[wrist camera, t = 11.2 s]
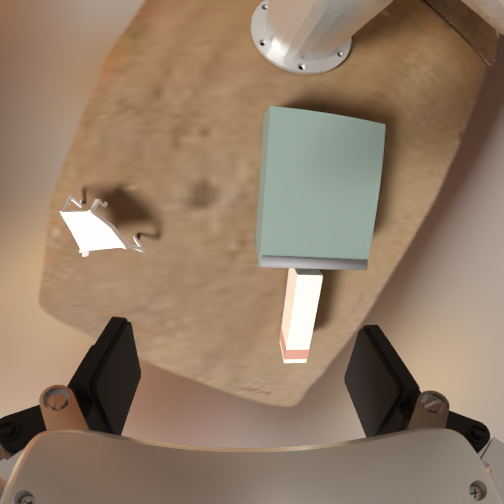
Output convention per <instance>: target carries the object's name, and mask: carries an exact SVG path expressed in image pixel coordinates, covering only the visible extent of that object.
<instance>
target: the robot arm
mask: <svg viewBox="0 0 504 504" xmlns="http://www.w3.org/2000/svg"><path fill="white" fill-rule="evenodd" d="M393 1H394V0H264V1H263V2H262V3H260V5H259V6H258V7H257V8H256V10H255V12H254V14H253V16H252V20H251V36H252V39H253V42H254V44H255V46H256V48H257V49H258V51H259V52H260V53H261V54H262V55H263V56H264V58H265V59H266V60H268V61H269V62H271V63H272V64H273V65H275V66H277V67H279V68H281V69H283V70H285V71H288V72H291V73H296V74H301V75H314V74H321V73H324V72H327V71H330V70H331V69H333V68H335V67H336V66H338V65H339V64H340V63H341V62H342V61H343V60H344V59H345V58H346V57H347V55H348V53H349V51H350V47H351V43H352V36H353V35H354V34H355V33H356V32H357V31H358V30H359V29H361V28H362V27H363V26H364V25H365V24H366V23H368V22H369V21H370V20H371V19H372V18H374V17H375V16H376V15H377V14H378V13H380V12H381V11H382V10H383V9H385V8H386V7H387V6H388V5H389V4H390V3H392V2H393ZM461 1H462V2H464V3H465V4H466V5H467V6H468V7H470V8H471V9H472V10H473V11H474V12H476V13H477V14H478V15H479V16H480V17H482V18H483V19H484V20H485V21H486V22H487V23H488V24H490V25H491V26H492V27H493V28H494V29H496V30H497V31H498V32H499V33H501V34H502V35H503V36H504V0H461ZM264 9H266V10H264ZM261 43H263V44H264V46H262V45H260V44H261ZM337 54H338V55H340V57H339V56H338V55H337ZM299 67H302V70H300V69H299ZM140 377H141V369H140V366H139V360H138V356H137V351H136V346H135V341H134V335H133V330H132V325H131V322H128V321H127V319H126V318H122V317H112V318H111V319H110V321H109V323H108V324H107V326H106V327H105V329H104V330H103V332H102V334H101V335H100V337H99V338H98V340H97V342H96V343H95V345H92V346H91V348H90V349H89V351H88V352H87V354H86V356H85V357H84V359H83V360H82V362H81V364H80V365H79V367H78V369H77V371H76V372H75V374H74V376H73V377H72V379H71V381H70V383H69V384H68V386H64V385H53V386H50V387H48V388H47V389H45V390H44V391H43V392H42V394H41V395H40V398H39V403H40V405H37V406H35V407H31V408H29V409H26V410H23V411H20V412H17V413H14V414H11V415H8V416H5V417H3V418H1V419H0V504H504V444H503V443H502V442H501V441H499V440H498V439H496V438H495V437H493V439H490V433H489V430H488V428H487V427H486V426H485V425H484V424H483V423H481V422H479V421H476V420H473V419H470V418H467V417H465V416H462V415H460V414H457V413H454V412H451V411H449V402H448V400H447V399H446V397H445V396H443V395H442V394H440V393H438V392H436V391H425V392H423V393H421V392H420V390H419V388H420V387H419V386H418V384H417V383H416V381H415V380H414V378H413V376H412V375H411V373H410V372H409V370H408V369H407V367H406V366H405V364H404V363H403V362H402V360H401V358H400V357H399V356H398V354H397V352H396V351H395V349H394V348H393V346H392V345H391V343H390V342H389V340H388V339H387V338H386V336H385V335H384V333H383V332H382V330H381V329H380V327H379V326H378V325H365V326H364V327H363V328H362V329H360V330H359V332H358V336H357V339H356V342H355V346H354V349H353V352H352V355H351V358H350V361H349V364H348V367H347V371H346V373H345V384H346V386H347V389H348V392H349V394H350V397H351V399H352V402H353V404H354V407H355V409H356V412H357V414H358V417H359V419H360V422H361V424H362V427H363V430H364V432H365V435H366V438H362V439H355V440H350V441H343V442H335V443H328V444H318V445H309V446H295V447H277V448H221V447H204V446H203V447H202V446H191V445H181V444H171V443H164V442H156V441H149V440H142V439H136V438H131V437H125V436H121V433H122V430H123V427H124V424H125V421H126V418H127V415H128V412H129V409H130V406H131V403H132V400H133V398H134V395H135V392H136V389H137V386H138V383H139V380H140Z"/></svg>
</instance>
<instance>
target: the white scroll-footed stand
mask: <svg viewBox="0 0 504 504" xmlns="http://www.w3.org/2000/svg"><path fill="white" fill-rule="evenodd" d="M71 200H72V201H73V202H74V203H75V204H76V205H78V206H79V207H82V200H80V203H79V202H78V201H77V200H76V199H75V198H74V197H73V196H72V195H69V197H68V199H67V200H66V202H65V204H64V207H63V209H62V210H60V213H61V215H62V217H63V218H64V220H65V222H66V224H67V225H68V227H69V228H70V230H71V232H72V234H73V236H74V238H75V239H76V241H77V243H78V245H79V247H80V252H79V253H81V252H83V253H82V257H84V256H89V254H90V253H91V252H92V251H93V250H99V249H110V248H123V249H126V250H127V249H129V248H134V249H136V250H138V251H140V252H144V253H145V248H144V247H143V245H142V244H141V243H140V241H139V240H138V238H137V237H136V236H133V237H134V240H135V242H136V243H137V245H138V246H136V245H134V244H131V243H128V241H127V240H126V239H125V238H124V237H123V236H122V234H121V233H120V232H119V231H118V230H117V228H116V227H115V226H114V225H113V224H111V223H110V222H109V221H107V220H106V219H105V218H103V217H102V216H101V215H99V214H98V213H96V212H95V210H96V208H97V207H98V205H99V204H100V205H102V206H103V207H107V205H108V203H107V202H104V203H103V202H102V201H101V200H100V199H95V201H94V203H93V205H92V207H91V209H90V210H69V205H70V202H71ZM68 210H69V211H68Z"/></svg>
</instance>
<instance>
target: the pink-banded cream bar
mask: <svg viewBox="0 0 504 504" xmlns="http://www.w3.org/2000/svg"><path fill="white" fill-rule="evenodd" d="M322 278H323V275H322V273H321V271H320V270H319V269H305V268H289V273H288V281H287V289H286V297H285V305H284V313H283V320H282V327H281V332H280V346H281V351H282V356H283V361H284V363H306V360H307V357H308V353H309V346H310V341H311V337H312V332H313V327H314V322H315V317H316V312H317V306H318V301H319V296H320V290H321V284H322Z"/></svg>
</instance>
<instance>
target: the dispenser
mask: <svg viewBox="0 0 504 504" xmlns="http://www.w3.org/2000/svg"><path fill="white" fill-rule="evenodd" d="M385 128H386V124H382V123H377V122H373V121H368V120H363V119H358V118H353V117H348V116H342V115H336V114H330V113H324V112H317V111H310V110H302V109H294V108H284V107H274V106H270V107H269V108H268V110H267V111H266V113H265V114H264V118H263V133H262V148H261V163H260V178H259V193H258V208H257V223H256V237H255V246H256V252H257V258H258V264H259V266H261V267H277V268H305V269H337V270H366V269H367V266H368V263H367V262H368V257H369V252H370V246H371V241H372V235H373V230H374V224H375V217H376V211H377V204H378V197H379V190H380V182H381V173H382V164H383V154H384V142H385Z"/></svg>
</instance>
